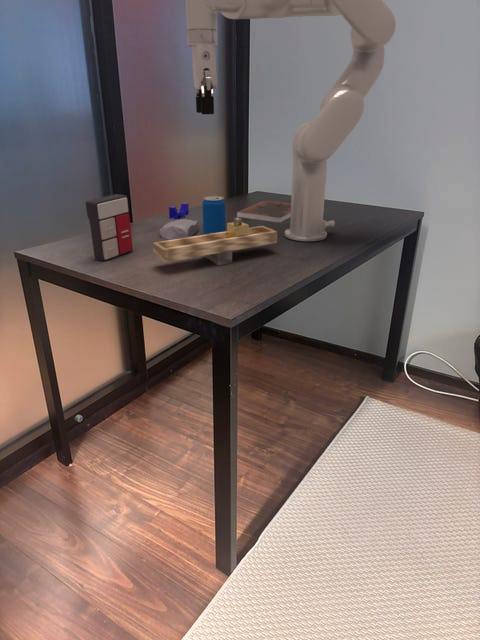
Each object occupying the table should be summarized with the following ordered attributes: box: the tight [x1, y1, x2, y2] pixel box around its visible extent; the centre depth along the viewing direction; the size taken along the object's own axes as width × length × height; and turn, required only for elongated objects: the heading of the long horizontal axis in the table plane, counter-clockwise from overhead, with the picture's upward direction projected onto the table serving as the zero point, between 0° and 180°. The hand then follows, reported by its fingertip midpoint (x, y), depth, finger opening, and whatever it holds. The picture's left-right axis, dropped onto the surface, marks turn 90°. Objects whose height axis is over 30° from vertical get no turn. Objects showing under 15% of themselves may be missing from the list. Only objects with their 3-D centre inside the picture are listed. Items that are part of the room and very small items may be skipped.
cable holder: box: [168, 202, 190, 220], centre depth 165 cm, size 8×4×4 cm, turn 147°
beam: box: [152, 225, 278, 266], centre depth 123 cm, size 32×8×6 cm, turn 120°
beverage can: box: [202, 195, 227, 235], centre depth 138 cm, size 6×6×12 cm
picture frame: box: [236, 200, 291, 223], centre depth 170 cm, size 16×2×22 cm
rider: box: [226, 216, 250, 238], centre depth 124 cm, size 4×4×6 cm
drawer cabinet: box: [85, 193, 133, 262], centre depth 124 cm, size 11×4×15 cm, turn 148°
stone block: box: [159, 218, 200, 240], centre depth 146 cm, size 12×5×10 cm
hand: (205, 113), depth 128 cm, fingers open, 9 cm apart
